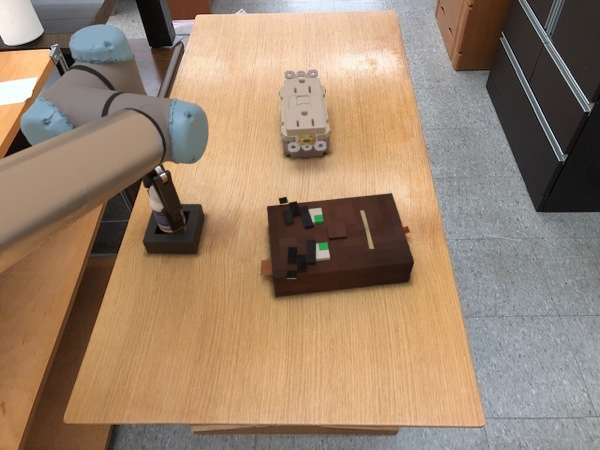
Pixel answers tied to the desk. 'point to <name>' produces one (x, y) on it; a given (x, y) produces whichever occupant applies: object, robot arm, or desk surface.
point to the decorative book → (336, 245)
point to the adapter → (176, 242)
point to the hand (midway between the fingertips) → (170, 218)
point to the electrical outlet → (304, 115)
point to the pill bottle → (156, 210)
